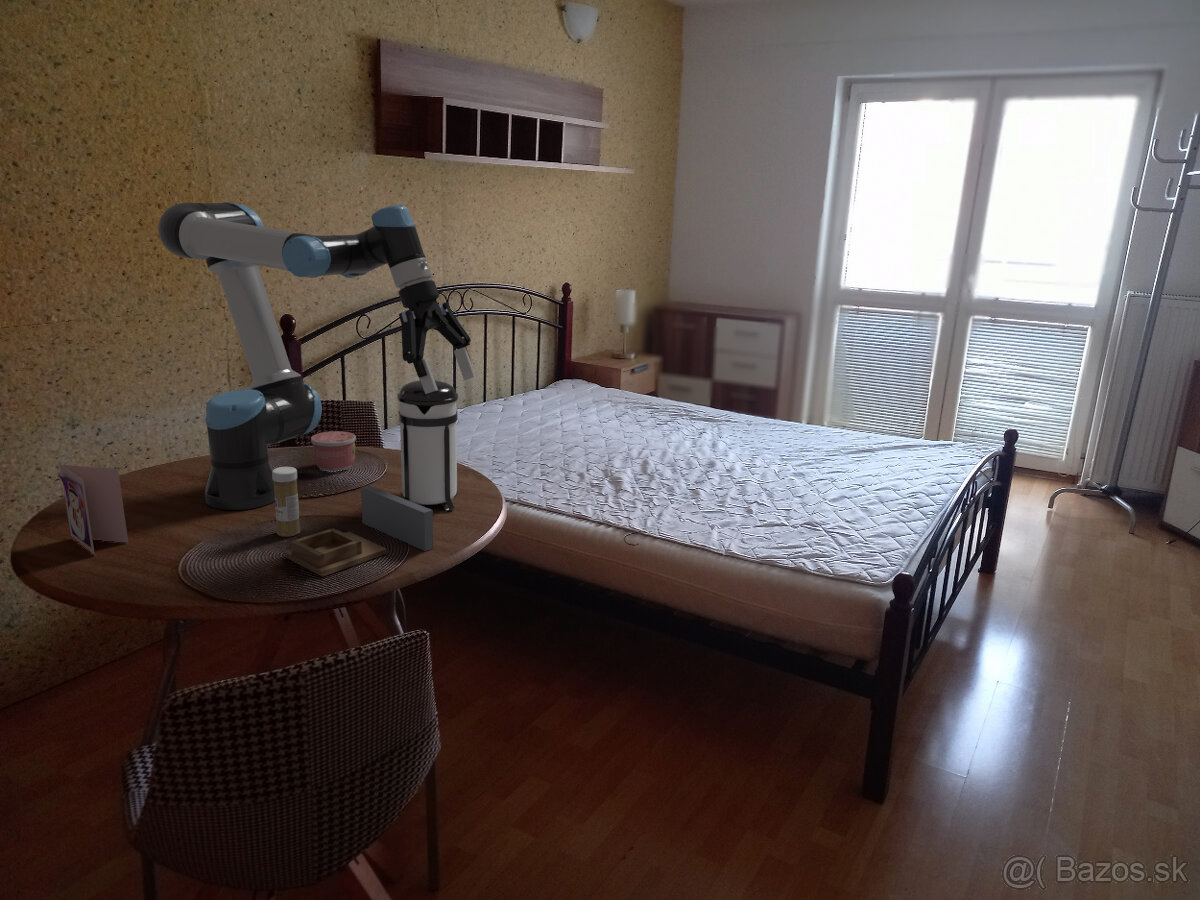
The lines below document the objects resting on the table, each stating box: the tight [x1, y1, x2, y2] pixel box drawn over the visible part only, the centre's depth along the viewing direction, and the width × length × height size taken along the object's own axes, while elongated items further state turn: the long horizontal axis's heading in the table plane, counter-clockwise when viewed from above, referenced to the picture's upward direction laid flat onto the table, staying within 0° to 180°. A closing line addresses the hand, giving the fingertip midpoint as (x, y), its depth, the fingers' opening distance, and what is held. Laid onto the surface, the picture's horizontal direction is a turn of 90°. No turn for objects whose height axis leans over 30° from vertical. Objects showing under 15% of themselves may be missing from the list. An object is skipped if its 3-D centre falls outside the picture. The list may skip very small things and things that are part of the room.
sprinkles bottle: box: [272, 466, 301, 538], centre depth 164 cm, size 5×5×13 cm
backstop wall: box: [360, 484, 434, 552], centre depth 165 cm, size 2×20×8 cm, turn 51°
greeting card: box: [58, 464, 129, 554], centre depth 155 cm, size 11×7×15 cm, turn 50°
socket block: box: [284, 527, 388, 577], centre depth 156 cm, size 14×12×4 cm
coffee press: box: [397, 380, 459, 512], centre depth 182 cm, size 17×16×30 cm
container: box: [310, 430, 357, 471], centre depth 204 cm, size 10×10×8 cm
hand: (451, 385), depth 168 cm, fingers open, 13 cm apart
